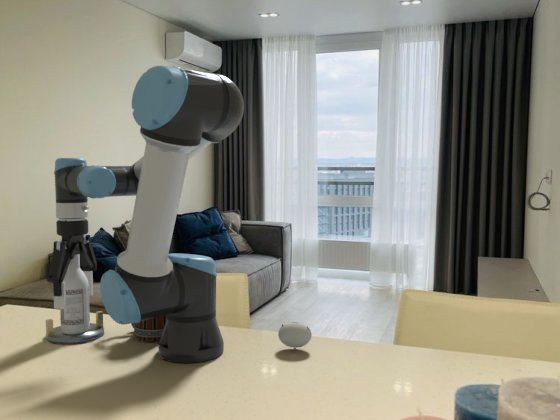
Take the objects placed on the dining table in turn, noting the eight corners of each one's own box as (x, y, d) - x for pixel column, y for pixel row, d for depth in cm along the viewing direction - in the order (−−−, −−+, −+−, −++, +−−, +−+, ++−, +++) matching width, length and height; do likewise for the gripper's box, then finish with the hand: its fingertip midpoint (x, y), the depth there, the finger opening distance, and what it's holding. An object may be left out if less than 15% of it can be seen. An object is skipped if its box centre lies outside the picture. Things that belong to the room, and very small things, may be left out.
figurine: (312, 346, 129) (312, 319, 128) (310, 355, 123) (310, 327, 122) (280, 344, 130) (280, 317, 129) (276, 353, 124) (276, 325, 123)
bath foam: (73, 325, 140) (71, 251, 138) (95, 328, 138) (93, 252, 136) (54, 333, 133) (52, 255, 132) (77, 336, 131) (75, 257, 130)
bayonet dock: (113, 328, 142) (113, 309, 141) (87, 346, 128) (87, 325, 128) (64, 326, 144) (64, 307, 143) (34, 343, 130) (33, 322, 129)
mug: (184, 334, 138) (184, 277, 136) (154, 345, 129) (154, 285, 127) (142, 324, 146) (141, 270, 145) (111, 334, 137) (110, 277, 136)
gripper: (59, 224, 120) (61, 315, 122) (108, 214, 145) (110, 290, 147) (28, 224, 121) (31, 314, 123) (83, 214, 146) (85, 289, 148)
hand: (74, 301), depth 135 cm, fingers open, 13 cm apart
